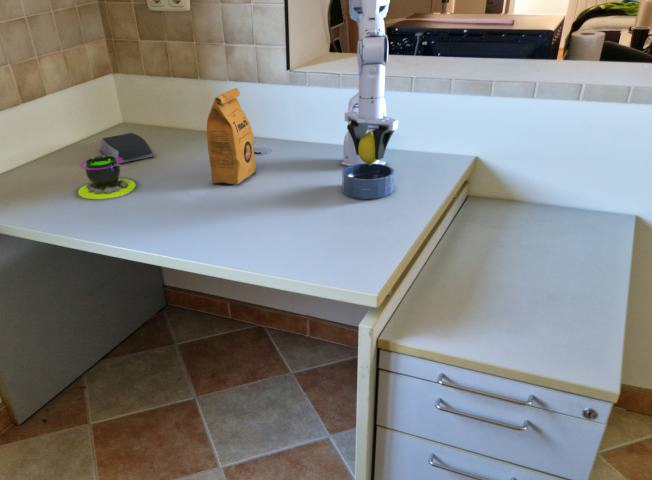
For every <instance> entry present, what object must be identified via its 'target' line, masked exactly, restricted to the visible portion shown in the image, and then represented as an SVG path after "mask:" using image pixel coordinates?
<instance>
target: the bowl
mask: <svg viewBox="0 0 652 480" xmlns="http://www.w3.org/2000/svg"><path fill="white" fill-rule="evenodd" d="M394 183H395V169H394V168H393V167H391V166H389V165H387V164H384V165H383V164H376V163H372V165H370V166H369V165H368V164H367V163H363V164H356V165H351V166H346V167H345V168H343V169H342V171H341V190H342V192H343V193H344V195H346V196H348V197H350V198H354V199H358V200H359V199H360V200H374V199H381V198H384V197H386V196H388V195H390V194H391V193H393V191H394V186H395V185H394Z"/></svg>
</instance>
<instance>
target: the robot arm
mask: <svg viewBox="0 0 652 480" xmlns="http://www.w3.org/2000/svg"><path fill="white" fill-rule="evenodd" d="M390 2H391V1H390V0H348V6H349V7H348V15H349V18H350V19H351V20H353V21H355V22H356V24H357V29H358V41H357V49H356V50H357V54H356V56H357V57H356V59H357V67H358V68H357V69H358V70H357V71H358V73H357V74H358V92H357V93H355V94H354V95H353V96H352V97H351V98H350V99H349V101H348V108H347V111H346V112H344V122H347V125H346V129H347V132H346V133H345V135H344V138H343V161H342V162H341V165H343V166H346V167H349V166H351V165H356V164H363V163H365V162H363V161H362V160H361V158H360V156H359V153H358V147H359V142H360V140H361V138H362V137H363V136H364V135H365V134H367V133H369V132H370V131H371V132H372V133H373V136H374V141H375V158H376V160H377V161H376V162H374V163H376V164H383V165H387V163H386V161H383V160H382V159H384V157H385V154H386V150H387V147H388V144H389V142H390V140H391V138H392V136H393V134H394V133H395V131H396V130H398V129H399V120H398V119H396V118H392V117H389V116H387V107H386V104H387V103H386V99H385V83H386V82H385V81H386V66H387V64H388V61H389V40H388V39H389V37H388V35H387V34H386V29H385V20H384V18H386V17H387V13H388V12H389V6H390ZM384 63H385V64H384Z"/></svg>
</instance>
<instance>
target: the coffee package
mask: <svg viewBox="0 0 652 480" xmlns="http://www.w3.org/2000/svg"><path fill="white" fill-rule="evenodd" d="M240 95H241V92H240V90H239V89H238V88H237V87H235V88H233V89H230V90H228V91H225V92H223V93H220V94H218V96H216V97H214V100H213V103H212V104H211V105H212V106H211V107H210V111H209V113H208V117H207V121H206V140H207V141H206V142H207V152H208V158H209V165H210V166H209V167H210V173H211V179H212V180H211V181H212V184H229V185H235V184H237V185H238V184H240V183H241V182H243V181H244V180H246V179H248V178H249V177H250V176H252V175H253V174H254V173H255V172H256V169H257V165H256V155H255V143H254V142H255V141H254V132H253V128H252V125H251V122H250V121H249V119H248V117H247V115H246V114H245V112H244V111H243V110H242V107H241V104H240V102H239V100H238V99H237V97H239V96H240Z"/></svg>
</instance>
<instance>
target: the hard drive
mask: <svg viewBox="0 0 652 480" xmlns="http://www.w3.org/2000/svg"><path fill="white" fill-rule="evenodd" d="M105 145H106V146H105ZM99 149H103V150H100V152H101V154H103V156H112V157H113V156H114V157H115V156H116V157H117V156H118V157H119V158H120V159H121V158H122V159H123V162H122V161H121V160H120V161H121V163H120V164H123V163H129V162H133V161H138V160H143V159H147V158H153V157H155V154H154V152H153V150H152V148H151V147H150V145H149V144H148V143H147V141H146V140H145V139H144V138H143V137H141V136H140V135H139V134H136V133H134V132H129V133H124V134H118V135H113V136H112V135H111V136H107V137H101V139H100V143H99ZM110 149H111V150H110ZM112 150H113V151H112ZM113 153H114V154H113ZM116 161H117V162H120V161H119V159H117V158H116Z"/></svg>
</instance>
